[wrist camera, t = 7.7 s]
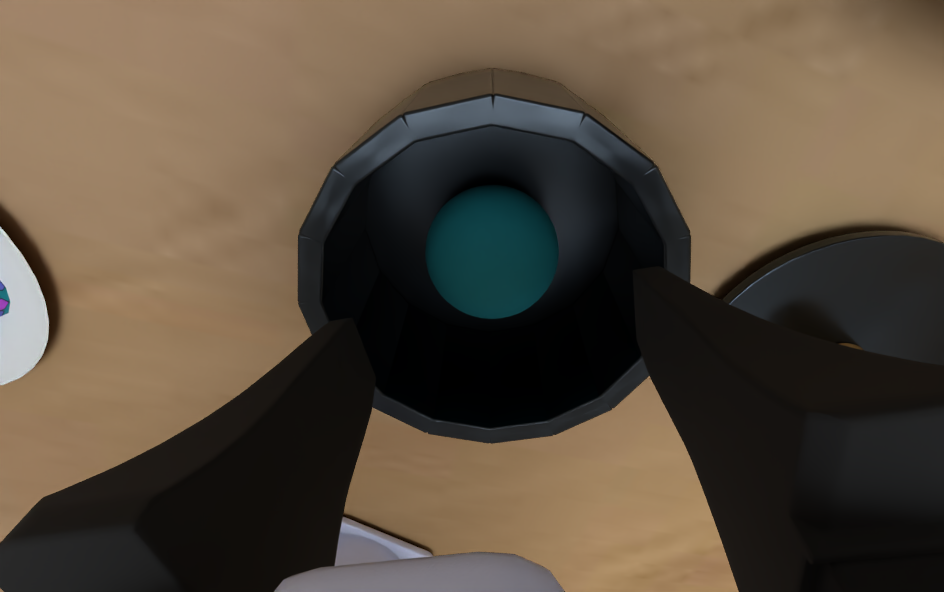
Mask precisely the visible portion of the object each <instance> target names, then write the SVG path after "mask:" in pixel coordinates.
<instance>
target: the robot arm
mask: <svg viewBox="0 0 944 592" xmlns="http://www.w3.org/2000/svg"><path fill="white" fill-rule="evenodd" d="M633 288H634V306H635V324H636V339H637V342H638V345H639V348H640V351H641V354H642V357H643V360H644V363H645V366H646V368H647V371H648V373H649V375H650V377H651V380H652V382H653V383H654V385H655V387H656V389H657V391H658V393H659V395H660V397H661V399H662V401H663V403H664V405H665V407H666V409H667V411H668V413H669V415H670V417H671V419H672V421H673V423H674V425H675V427H676V429H677V431H678V433H679V435H680V436H681V438H682V440H683V442H684V444H685V447H686V449H687V451H688V453H689V455H690V458H691V460H692V462H693V465H694V467H695V470H696V473H697V475H698V478H699V481H700V483H701V486H702V489H703V491H704V494H705V496H706V499H707V502H708V505H709V507H710V510H711V513H712V516H713V518H714V521H715V524H716V527H717V530H718V532H719V535H720V538H721V541H722V544H723V546H724V549H725V552H726V555H727V558H728V561H729V564H730V567H731V570H732V573H733V576H734V579H735V582H736V585H737V587H738V590H739V592H944V365H937V364H930V363H923V362H918V361H912V360H907V359H902V358H898V357H893V356H888V355H883V354H878V353H873V352H869V351H865V350H860V349H856V348H852V347H848V346H844V345H841V344H837V343H834V342H830V341H826V340H823V339H819V338H816V337H812V336H809V335H806V334H803V333H800V332H797V331H794V330H791V329H788V328H786V327H783V326H780V325H777V324H775V323H772V322H769V321H767V320H764V319H762V318H759V317H757V316H754V315H752V314H750V313H748V312H746V311H743V310H741V309H739V308H737V307H735V306H732V305H730V304H728V303H726V302H724V301H722V300H720V299H718V298H716V297H714V296H712V295H710V294H709V293H707V292H705V291H703V290H701V289H699V288H698V287H696V286H694V285H692V284H690V283H689V282H687V281H685V280H683V279H682V278H680V277H678V276H676V275H675V274H673V273H671V272H669V271H667V270H666V269H664V268H662V267H660V266H655V267H649V268H643V269H637V270H633ZM375 383H376V376H375V373H374V371H373V368H372V366H371V363H370V361H369V358H368V356H367V353H366V351H365V348H364V346H363V343H362V340H361V338H360V335H359V333H358V330H357V328H356V325H355V323H354V320H353V318H352V317H351V318H345V319H340V320H334V321H330V322H328V323H327V324H325V325H324V326H323V327H321V328H320V329H319V330H318V331H316V332H315V333H314V334H313V335H311V336H310V337H309V338H308V339H307V340H306V341H304V342H303V343H302V344H301V345H300V346H299V347H297V348H296V349H295V350H294V351H293V352H292V353H290V354H289V355H288V356H287V357H286V358H285V359H283V360H282V361H281V362H280V363H279V364H278V365H276V366H275V367H274V368H273V369H271V370H270V371H269V372H268V373H266V374H265V375H264V376H263V377H261V378H260V379H259V380H258V381H256V382H255V383H254V384H253V385H251V386H250V387H249V388H248V389H246V390H245V391H244V392H242V393H241V394H240V395H238V396H237V397H235V398H234V399H233V400H231V401H230V402H228V403H227V404H225V405H224V406H222V407H221V408H219V409H218V410H216V411H215V412H213V413H212V414H210V415H209V416H207V417H206V418H204V419H203V420H201V421H199V422H198V423H196V424H194V425H192V426H191V427H189V428H187V429H186V430H184V431H182V432H180V433H179V434H177V435H175V436H174V437H172V438H170V439H169V440H167V441H165V442H163V443H161V444H160V445H158V446H156V447H154V448H152V449H150V450H148V451H146V452H144V453H142V454H140V455H138V456H136V457H134V458H132V459H130V460H128V461H126V462H124V463H122V464H120V465H118V466H116V467H114V468H111V469H109V470H107V471H105V472H103V473H100V474H98V475H96V476H93V477H91V478H89V479H86V480H84V481H82V482H79V483H77V484H75V485H72V486H70V487H68V488H65V489H63V490H61V491H58V492H56V493H53V494H51V495H48V496H46V497H44V498H42V499H41V500H40V501H39V502H38V503H37V504H36V505H35V506H34V507H33V508H32V509H31V510H30V511H29V512H28V513H27V515H26V516H25V517H24V518H23V519H22V520H21V521H20V522H19V523H18V524H17V525H16V526H15V528H14V529H13V530H12V531H11V532H10V533H9V534H8V535H7V536H6V537H5V538H4V540H3V541H2V542H1V543H0V588H1V589H2V590H3V591H4V592H565V591H564V590H563V588H562V587H561V586H560V584H559V583H558V581H557V580H556V579H555V577H554V576H553V575H552V573H551V572H550V571H549V570H548V569H546V568H545V567H543V566H541V565H539V564H536V563H534V562H532V561H529V560H527V559H525V558H523V557H520V556H518V555H516V554H507V553H490V552H471V553H461V554H451V555H441V556H433V555H432V554H431V553H430V552H429V551H426V550H424V549H421V548H419V547H416V546H414V545H412V544H409V543H407V542H404V541H402V540H399V539H397V538H395V537H392V536H390V535H387V534H385V533H382V532H380V531H377V530H375V529H373V528H370V527H368V526H365V525H363V524H360V523H358V522H356V521H353V520H351V519H348V518H346V517H343V512H344V507H345V502H346V498H347V494H348V490H349V486H350V482H351V479H352V475H353V472H354V469H355V465H356V462H357V459H358V456H359V452H360V449H361V446H362V442H363V439H364V436H365V432H366V429H367V425H368V422H369V418H370V415H371V411H372V405H373V398H374V391H375Z"/></svg>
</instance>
